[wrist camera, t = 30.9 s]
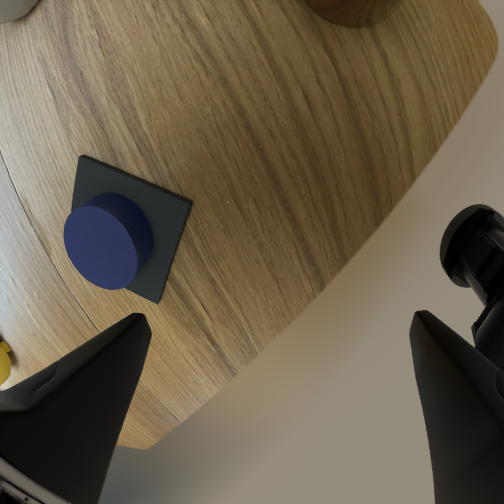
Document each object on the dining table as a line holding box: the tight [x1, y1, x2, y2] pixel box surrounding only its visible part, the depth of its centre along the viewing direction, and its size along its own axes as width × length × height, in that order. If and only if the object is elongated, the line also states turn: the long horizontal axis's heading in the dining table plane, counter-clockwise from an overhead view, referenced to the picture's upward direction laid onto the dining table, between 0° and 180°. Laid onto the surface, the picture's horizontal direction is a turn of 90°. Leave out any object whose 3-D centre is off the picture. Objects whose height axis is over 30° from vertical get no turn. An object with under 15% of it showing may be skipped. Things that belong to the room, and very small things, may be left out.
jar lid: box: [64, 193, 153, 290], centre depth 20 cm, size 7×7×3 cm
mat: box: [68, 155, 193, 304], centre depth 22 cm, size 10×10×1 cm
